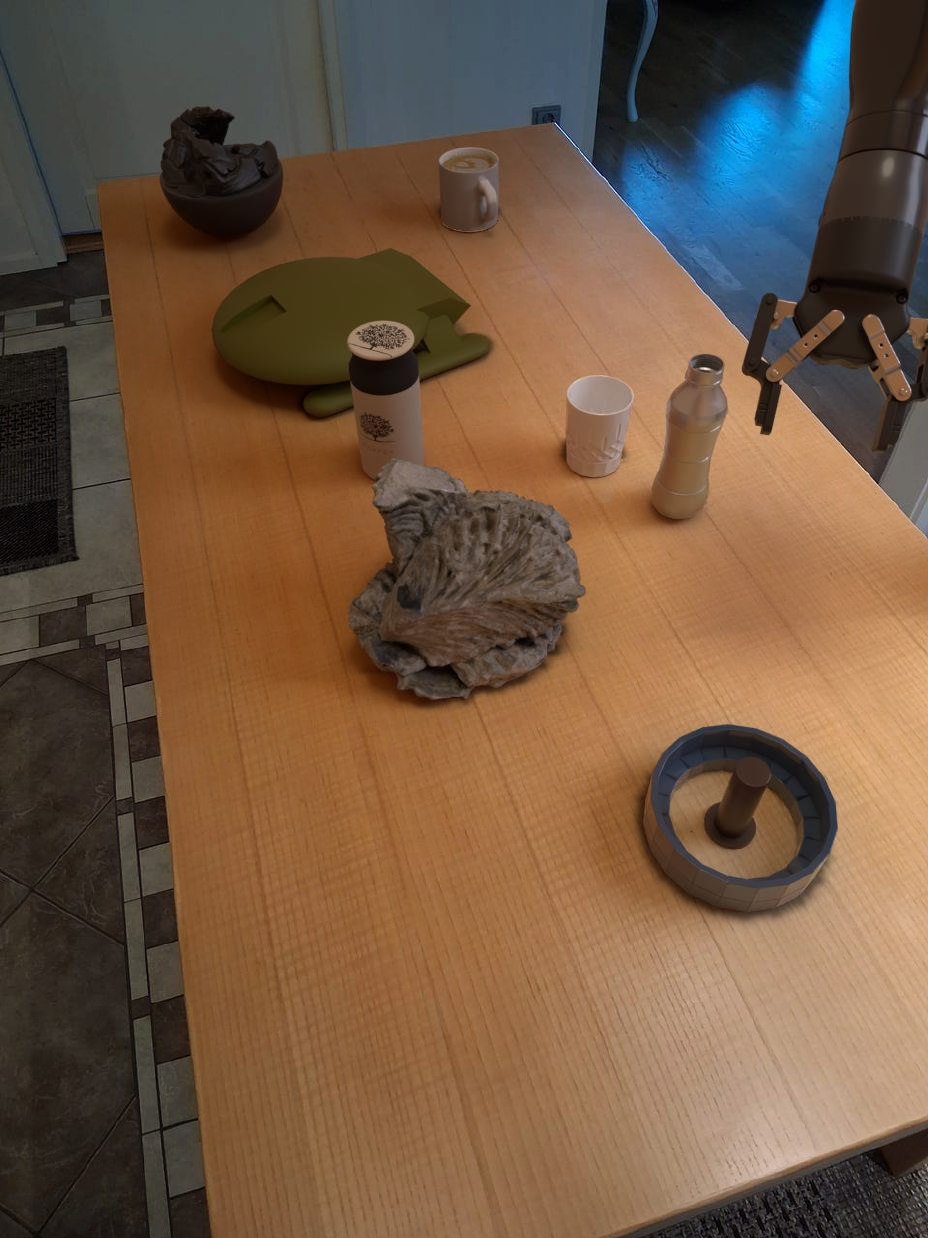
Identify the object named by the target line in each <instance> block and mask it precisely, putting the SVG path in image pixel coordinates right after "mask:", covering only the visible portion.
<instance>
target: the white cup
mask: <svg viewBox="0 0 928 1238" xmlns="http://www.w3.org/2000/svg"><path fill="white" fill-rule="evenodd" d="M632 389H633V388H631V386H630V385H629V384H628V383H626V382H625V381H623V380H622V379H619V378H616V377H614V376H610V375H604V374H603V375H601V374H595V375H594V374H593V375H587V376H586V375H585V376H582V377H580V378H578V379H576V380H574V381H573V382H571V384H570V385H569V386H568V388H567V390H566V402H565V403H566V404H565V405H566V407H565V445H566V455H565V456H566V464H567V466H568V467H569V468H570V470H571V471H572V472H574V473H576V474H578V475H580V476H582V477H588V478H600V477H606V476H608V475H610V474H612V473H614V472H615V471H616V470H617V469H618V467H619V466H620V464H621V459H622V453H623V449H624V446H625V444H626V443H625V442H626V437H627V434H628V430H629V426H630V425H629V424H630V420H631V415H632V411H633V410H632V409H633V404H634V400H635V394H634V390H632Z"/></svg>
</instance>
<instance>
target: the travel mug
mask: <svg viewBox="0 0 928 1238" xmlns="http://www.w3.org/2000/svg"><path fill="white" fill-rule="evenodd" d="M413 343H414V335H413V333H412V331H411V330H410V329H409V328H408V327H406V326H405V325H403V324H400V323H397V322H393V321H374V322H369V323H366V324H363V325H361V326H359V327H357V328H356V329H354V330H353V331H352V332H351V333H350V335H349V337H348V340H347V344H348V347H349V349H350V351H351V352H352V357H351V359H350V361H349V365H348V367H349V375H350V382H351V389H352V397H353V404H354V406H353V411H354V417H355V424H356V425H355V426H356V431H357V439H358V446H359V453H360V461H361V467H362V470H363V472H364V473H365V474H366V475H367V476H368V477H369V478H371V479H373V480H374V479H375V476H376V475H377V474H379V473H380V469H381V467H382V466H385V465H386V464H387V463H389V462H390V460H391V459H393V458H395V459H402V461H409V462H411V463H413V464H420V465H421V466H425V464H426V457H425V455H426V454H425V443H424V428H423V427H424V425H423V414H422V413H423V412H422V398H421V387H420V386H421V383H420V381H419V368H418V359H417V357H416V355H415V354H414V353H415V352H414V351H413V350H412V346H413Z"/></svg>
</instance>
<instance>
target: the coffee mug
mask: <svg viewBox="0 0 928 1238" xmlns="http://www.w3.org/2000/svg"><path fill="white" fill-rule="evenodd" d="M499 172H500V159H499V156H498V155H497V154H496V153H495V152H494V151H492V150H491V149H486V148H482V147H475V146H467V147H458V148H454V149H450V150H448V151H446V152H444V153H442V154H441V156H440V157H439V159H438V173H439V176H438V177H439V195H440V196H439V200H440V221H441V220H442V222H443V223H444V224H445V225H446V226H448V227H450V228H452V229H456V230H461V231H475V230H481V229H485V228H488V227H490V226H492V225H494V224H495V223H496V222H497V220H498V221H499V197H500V196H499V195H500V193H499V187H500V185H499V184H500V177H499V176H500V173H499ZM442 222H441V223H442ZM497 223H498V222H497Z"/></svg>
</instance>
